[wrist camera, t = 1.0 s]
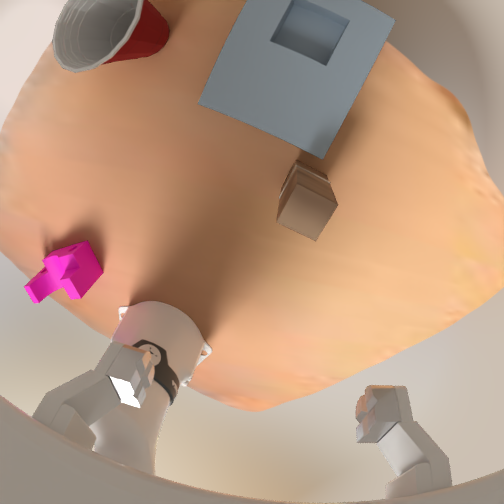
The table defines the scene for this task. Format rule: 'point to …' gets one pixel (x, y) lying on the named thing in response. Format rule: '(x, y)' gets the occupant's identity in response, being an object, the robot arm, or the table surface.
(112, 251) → the table surface
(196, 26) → the table surface
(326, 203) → the walnut peg
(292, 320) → the table surface
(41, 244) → the table surface
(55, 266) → the toy block
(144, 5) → the plastic cup
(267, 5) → the socket board
